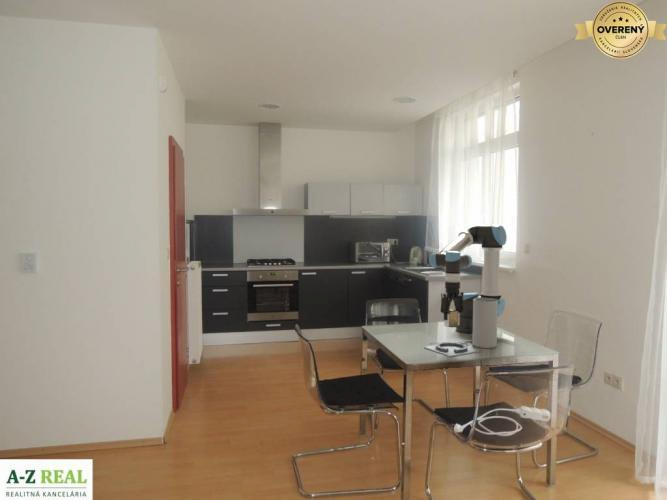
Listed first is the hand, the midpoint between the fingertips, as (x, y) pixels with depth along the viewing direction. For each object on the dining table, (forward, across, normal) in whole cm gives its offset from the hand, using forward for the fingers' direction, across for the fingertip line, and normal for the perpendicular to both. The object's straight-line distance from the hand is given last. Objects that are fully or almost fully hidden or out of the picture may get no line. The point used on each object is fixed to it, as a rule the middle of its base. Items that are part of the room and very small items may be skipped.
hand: (451, 325), depth 257 cm
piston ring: (+13, 0, 0) cm, 13 cm away
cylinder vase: (+13, -22, +2) cm, 25 cm away
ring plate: (+13, 0, 0) cm, 13 cm away
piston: (0, 0, 0) cm, 1 cm away
